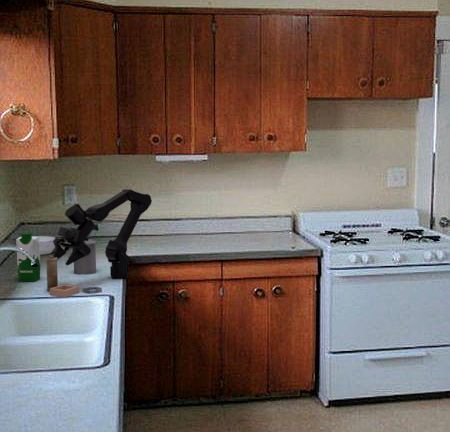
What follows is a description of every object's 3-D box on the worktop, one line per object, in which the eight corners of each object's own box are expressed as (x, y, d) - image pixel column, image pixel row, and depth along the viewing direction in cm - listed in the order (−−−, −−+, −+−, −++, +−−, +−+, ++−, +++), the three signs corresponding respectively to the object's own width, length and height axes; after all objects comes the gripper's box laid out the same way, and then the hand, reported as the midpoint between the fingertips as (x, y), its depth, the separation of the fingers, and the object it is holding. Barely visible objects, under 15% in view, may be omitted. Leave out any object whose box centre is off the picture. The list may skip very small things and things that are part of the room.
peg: (58, 289, 256) (57, 256, 254) (58, 292, 252) (57, 258, 250) (47, 290, 255) (45, 257, 253) (46, 292, 251) (45, 259, 249)
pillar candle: (72, 271, 291) (71, 237, 289) (94, 269, 294) (93, 236, 292) (75, 275, 282) (74, 241, 280) (98, 273, 285) (97, 240, 283)
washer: (101, 288, 257) (101, 286, 257) (102, 292, 250) (102, 290, 250) (82, 289, 255) (82, 287, 255) (83, 293, 249) (83, 291, 248)
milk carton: (16, 282, 269) (13, 234, 266) (22, 277, 278) (20, 231, 275) (37, 282, 269) (35, 234, 267) (42, 277, 278) (41, 231, 276)
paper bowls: (58, 254, 331) (58, 239, 330) (27, 257, 326) (26, 241, 325) (54, 250, 345) (54, 235, 344) (25, 252, 340) (24, 237, 339)
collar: (63, 290, 254) (63, 284, 253) (78, 293, 250) (78, 286, 250) (49, 295, 247) (49, 288, 247) (65, 297, 243) (64, 290, 243)
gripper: (56, 217, 263) (32, 248, 256) (84, 221, 250) (60, 253, 244) (73, 235, 270) (50, 265, 263) (101, 239, 257) (78, 271, 250)
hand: (59, 263), depth 255 cm, fingers open, 9 cm apart
